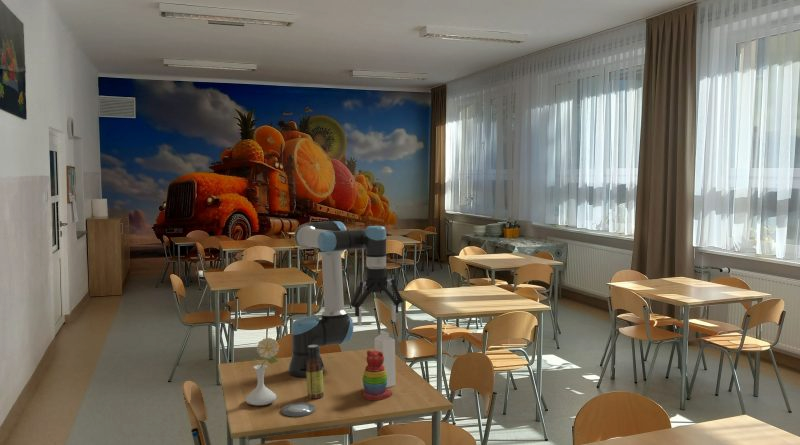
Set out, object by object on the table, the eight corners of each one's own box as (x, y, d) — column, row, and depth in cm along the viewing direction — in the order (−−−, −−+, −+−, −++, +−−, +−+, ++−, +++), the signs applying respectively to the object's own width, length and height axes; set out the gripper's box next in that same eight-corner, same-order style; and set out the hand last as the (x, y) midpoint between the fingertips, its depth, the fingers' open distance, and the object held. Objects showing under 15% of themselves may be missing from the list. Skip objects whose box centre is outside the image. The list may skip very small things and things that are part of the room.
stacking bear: (394, 394, 248) (393, 349, 247) (382, 402, 239) (381, 355, 238) (369, 390, 253) (369, 345, 251) (357, 398, 244) (356, 352, 242)
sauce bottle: (326, 394, 248) (325, 344, 246) (319, 400, 242) (318, 348, 241) (311, 392, 250) (310, 343, 249) (303, 398, 244) (302, 347, 243)
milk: (383, 388, 254) (382, 334, 252) (374, 384, 259) (373, 331, 257) (395, 385, 258) (395, 331, 256) (387, 381, 263) (386, 328, 261)
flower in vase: (241, 408, 235) (239, 341, 233) (250, 397, 246) (248, 333, 244) (276, 408, 234) (275, 341, 232) (284, 397, 245) (282, 333, 243)
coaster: (275, 410, 232) (275, 408, 232) (302, 402, 240) (302, 399, 240) (293, 419, 223) (293, 417, 223) (321, 410, 231) (321, 408, 231)
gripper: (346, 270, 231) (347, 328, 233) (410, 266, 240) (411, 322, 242) (341, 267, 238) (342, 323, 240) (403, 263, 247) (404, 317, 249)
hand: (376, 323), depth 241 cm, fingers open, 13 cm apart
